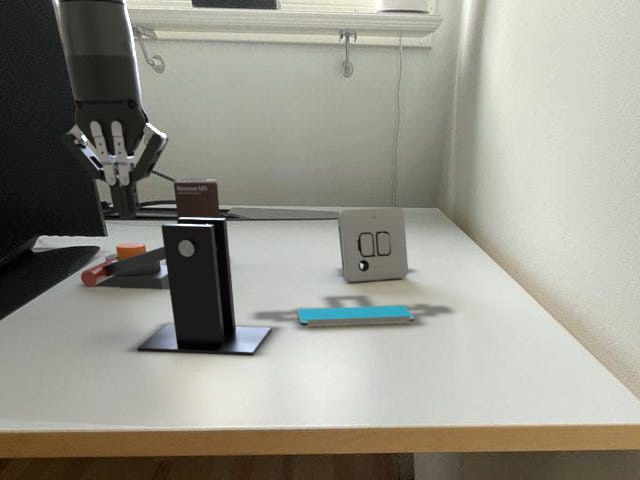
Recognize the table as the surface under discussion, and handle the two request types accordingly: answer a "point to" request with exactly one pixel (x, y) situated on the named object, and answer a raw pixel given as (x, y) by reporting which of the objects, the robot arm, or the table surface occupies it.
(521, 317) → the table surface
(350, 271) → the electrical switch
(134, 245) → the button
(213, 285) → the bracket
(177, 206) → the box
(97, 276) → the lever
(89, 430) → the table surface
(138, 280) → the button box
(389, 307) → the blue book
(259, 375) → the table surface
